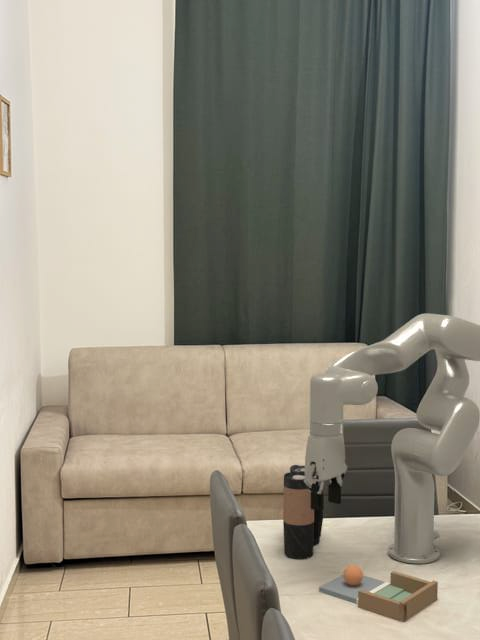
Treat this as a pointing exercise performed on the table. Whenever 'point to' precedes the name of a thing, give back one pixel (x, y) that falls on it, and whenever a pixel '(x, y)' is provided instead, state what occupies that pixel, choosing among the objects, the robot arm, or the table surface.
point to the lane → (386, 594)
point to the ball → (353, 575)
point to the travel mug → (297, 517)
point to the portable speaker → (317, 514)
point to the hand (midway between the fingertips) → (325, 505)
